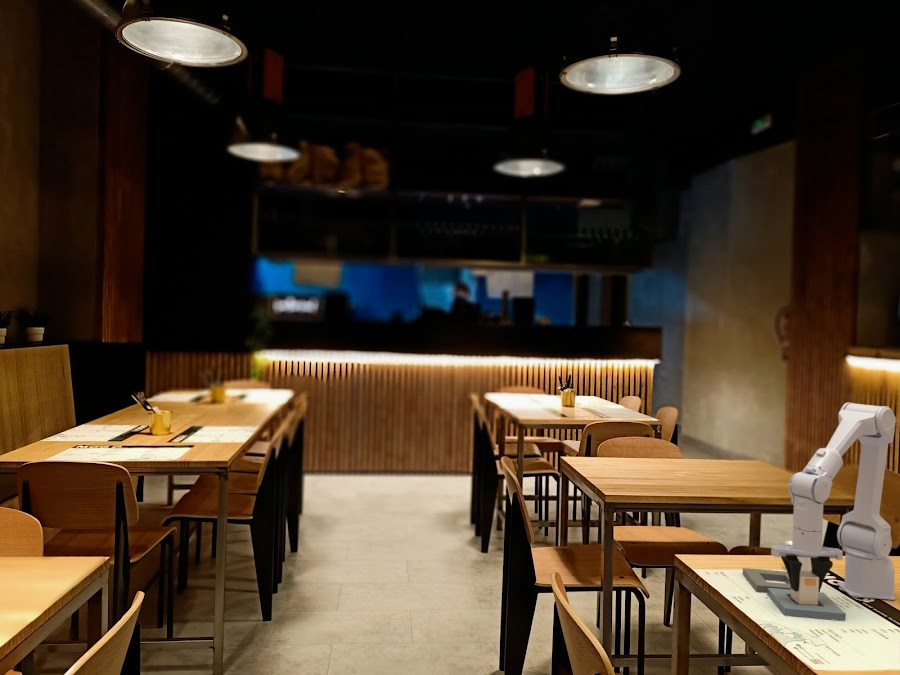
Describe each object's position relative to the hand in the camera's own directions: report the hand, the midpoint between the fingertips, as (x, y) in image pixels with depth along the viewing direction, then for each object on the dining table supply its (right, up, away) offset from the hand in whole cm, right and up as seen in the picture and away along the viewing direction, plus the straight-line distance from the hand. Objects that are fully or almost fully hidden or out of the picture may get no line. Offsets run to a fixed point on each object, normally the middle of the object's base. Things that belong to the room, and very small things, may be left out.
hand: (805, 590), depth 149 cm
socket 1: (0, -4, +13) cm, 14 cm away
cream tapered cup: (+11, -4, +24) cm, 26 cm away
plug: (0, -3, 0) cm, 3 cm away
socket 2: (0, -4, 0) cm, 4 cm away
